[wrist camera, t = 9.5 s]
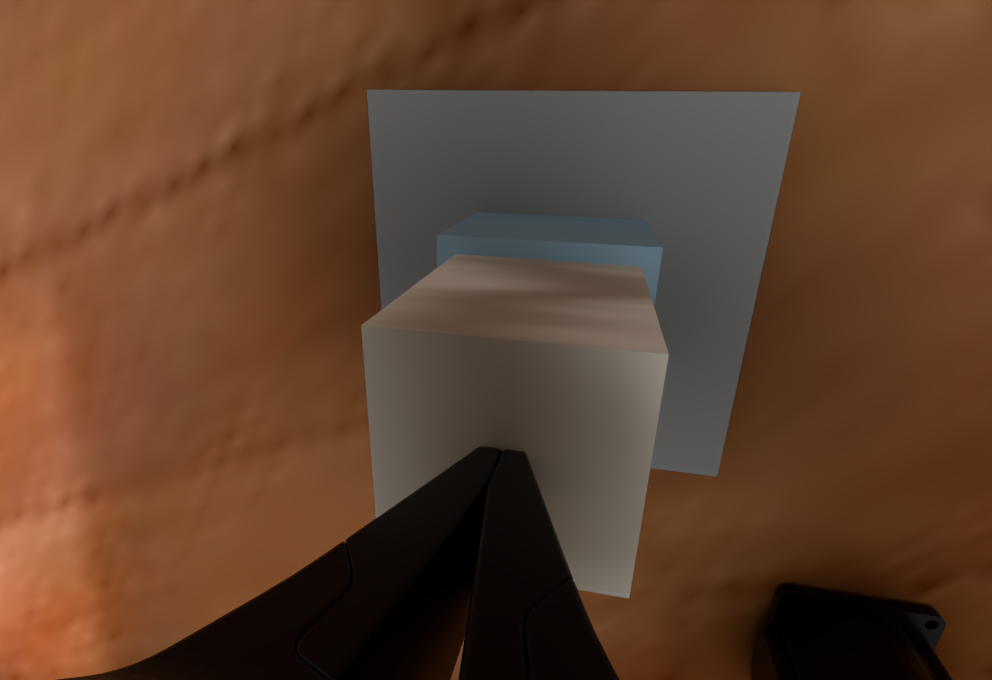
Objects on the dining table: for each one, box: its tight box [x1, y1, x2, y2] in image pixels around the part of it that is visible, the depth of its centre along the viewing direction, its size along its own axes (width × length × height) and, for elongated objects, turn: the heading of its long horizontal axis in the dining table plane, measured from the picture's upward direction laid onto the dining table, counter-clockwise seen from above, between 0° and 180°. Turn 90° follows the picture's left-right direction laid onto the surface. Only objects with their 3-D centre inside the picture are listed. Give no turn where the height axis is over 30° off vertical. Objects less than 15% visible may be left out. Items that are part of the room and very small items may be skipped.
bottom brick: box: [437, 212, 663, 306], centre depth 17 cm, size 6×6×5 cm
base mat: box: [367, 90, 801, 477], centre depth 20 cm, size 14×14×1 cm
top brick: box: [361, 254, 669, 598], centre depth 12 cm, size 5×5×6 cm
